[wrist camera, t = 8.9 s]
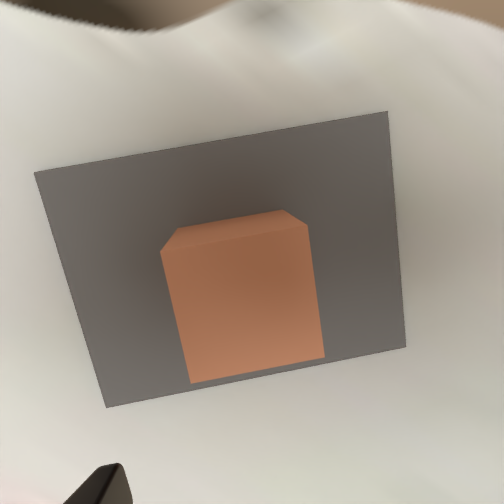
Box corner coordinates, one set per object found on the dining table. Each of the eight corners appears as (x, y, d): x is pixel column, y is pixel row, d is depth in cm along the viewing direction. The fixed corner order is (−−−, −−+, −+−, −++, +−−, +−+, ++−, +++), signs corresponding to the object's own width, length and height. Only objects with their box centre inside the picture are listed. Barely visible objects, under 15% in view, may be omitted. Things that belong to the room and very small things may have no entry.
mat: (384, 112, 17) (387, 111, 16) (403, 344, 19) (406, 347, 19) (37, 172, 16) (33, 172, 16) (107, 404, 19) (106, 408, 18)
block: (282, 209, 17) (307, 225, 12) (297, 307, 18) (324, 357, 13) (177, 228, 17) (160, 251, 12) (199, 325, 18) (190, 383, 13)
